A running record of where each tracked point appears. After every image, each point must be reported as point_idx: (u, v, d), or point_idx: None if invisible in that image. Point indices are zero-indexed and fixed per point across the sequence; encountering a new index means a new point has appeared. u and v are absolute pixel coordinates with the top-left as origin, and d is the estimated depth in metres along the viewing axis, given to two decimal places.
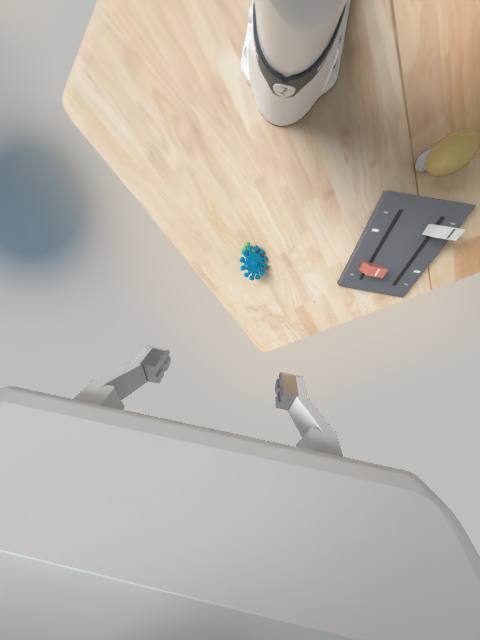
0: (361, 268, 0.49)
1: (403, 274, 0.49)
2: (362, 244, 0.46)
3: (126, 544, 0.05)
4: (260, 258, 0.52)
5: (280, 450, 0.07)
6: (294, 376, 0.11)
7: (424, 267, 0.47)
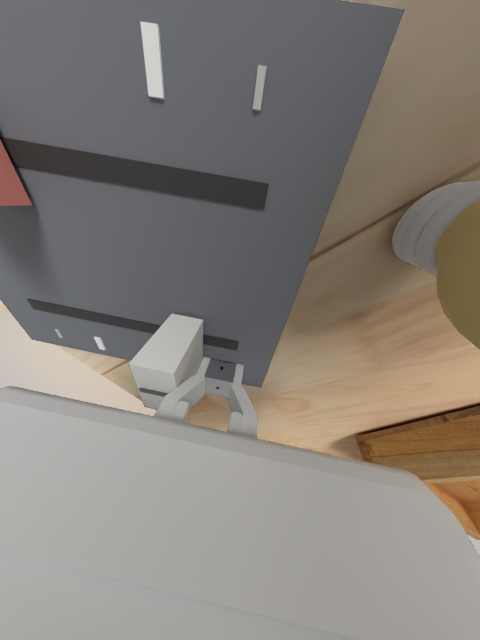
0: None
1: (74, 318, 0.15)
2: None
3: (126, 544, 0.05)
4: None
5: (280, 451, 0.07)
6: (235, 364, 0.11)
7: (117, 354, 0.17)
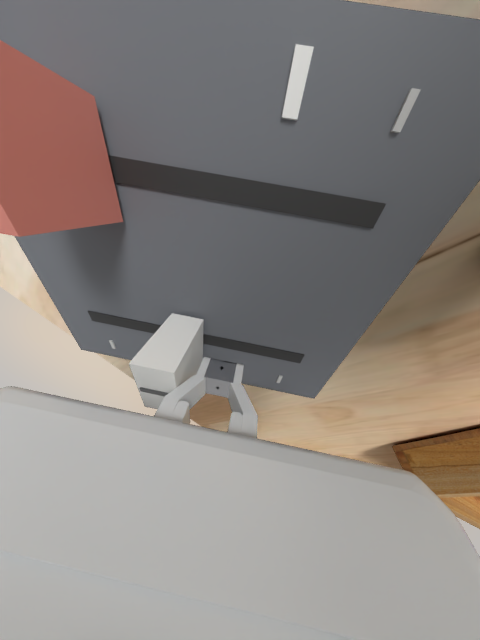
0: None
1: (132, 329, 0.15)
2: (196, 9, 0.06)
3: (126, 544, 0.05)
4: None
5: (280, 450, 0.07)
6: (235, 364, 0.11)
7: None
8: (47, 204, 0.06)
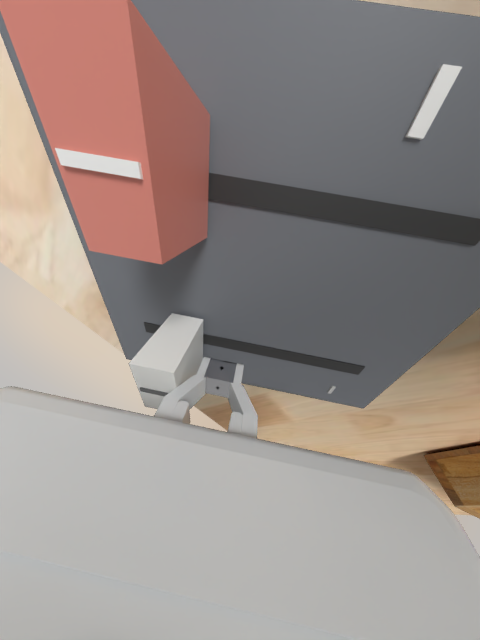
0: None
1: None
2: (341, 28, 0.05)
3: (126, 544, 0.05)
4: None
5: (280, 451, 0.07)
6: (235, 364, 0.11)
7: None
8: (177, 228, 0.06)
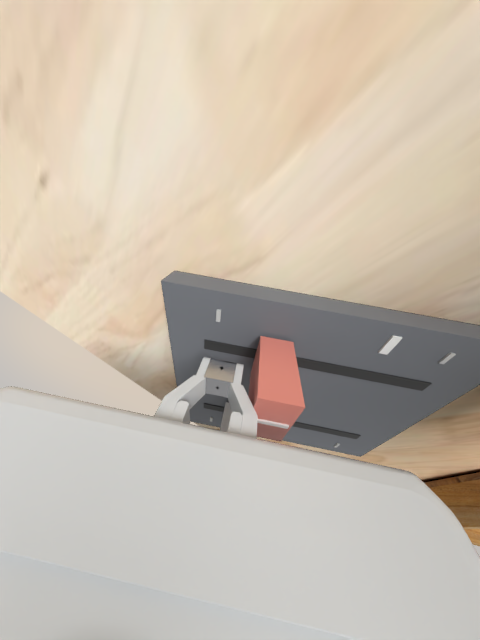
0: (269, 348, 0.11)
1: None
2: (343, 320, 0.11)
3: (126, 544, 0.05)
4: None
5: (280, 451, 0.07)
6: (235, 364, 0.11)
7: None
8: None
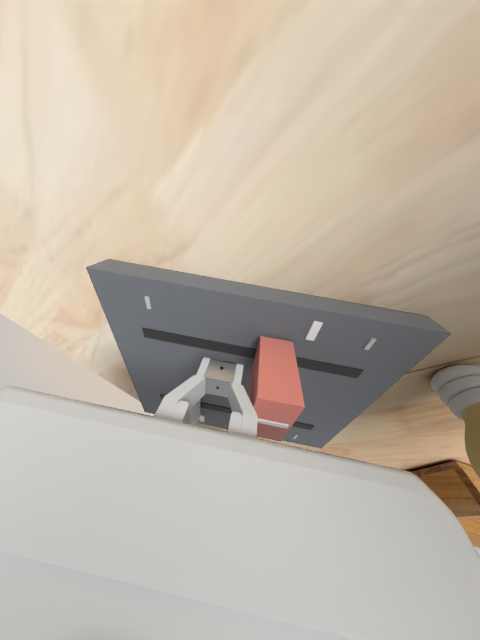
0: (269, 348, 0.11)
1: None
2: (265, 306, 0.11)
3: (126, 544, 0.05)
4: None
5: (280, 451, 0.07)
6: (235, 364, 0.11)
7: (212, 423, 0.22)
8: None
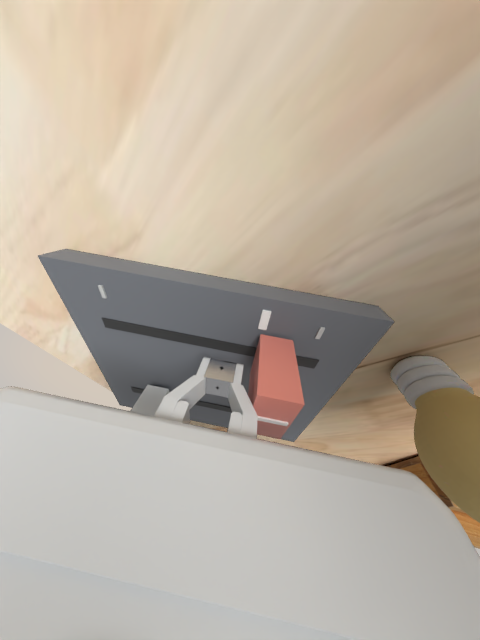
0: (269, 346, 0.11)
1: None
2: (214, 294, 0.11)
3: (126, 544, 0.05)
4: None
5: (280, 450, 0.07)
6: (235, 364, 0.11)
7: None
8: None
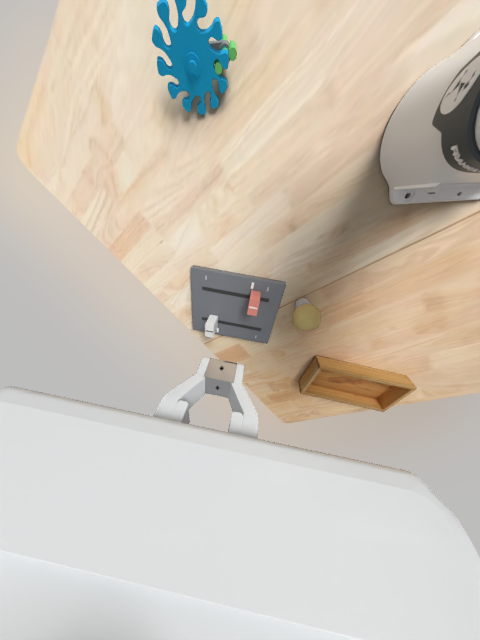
0: (253, 292, 0.42)
1: None
2: (238, 278, 0.42)
3: (126, 544, 0.05)
4: (202, 91, 0.26)
5: (280, 450, 0.07)
6: (236, 364, 0.11)
7: (221, 333, 0.53)
8: None
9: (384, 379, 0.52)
